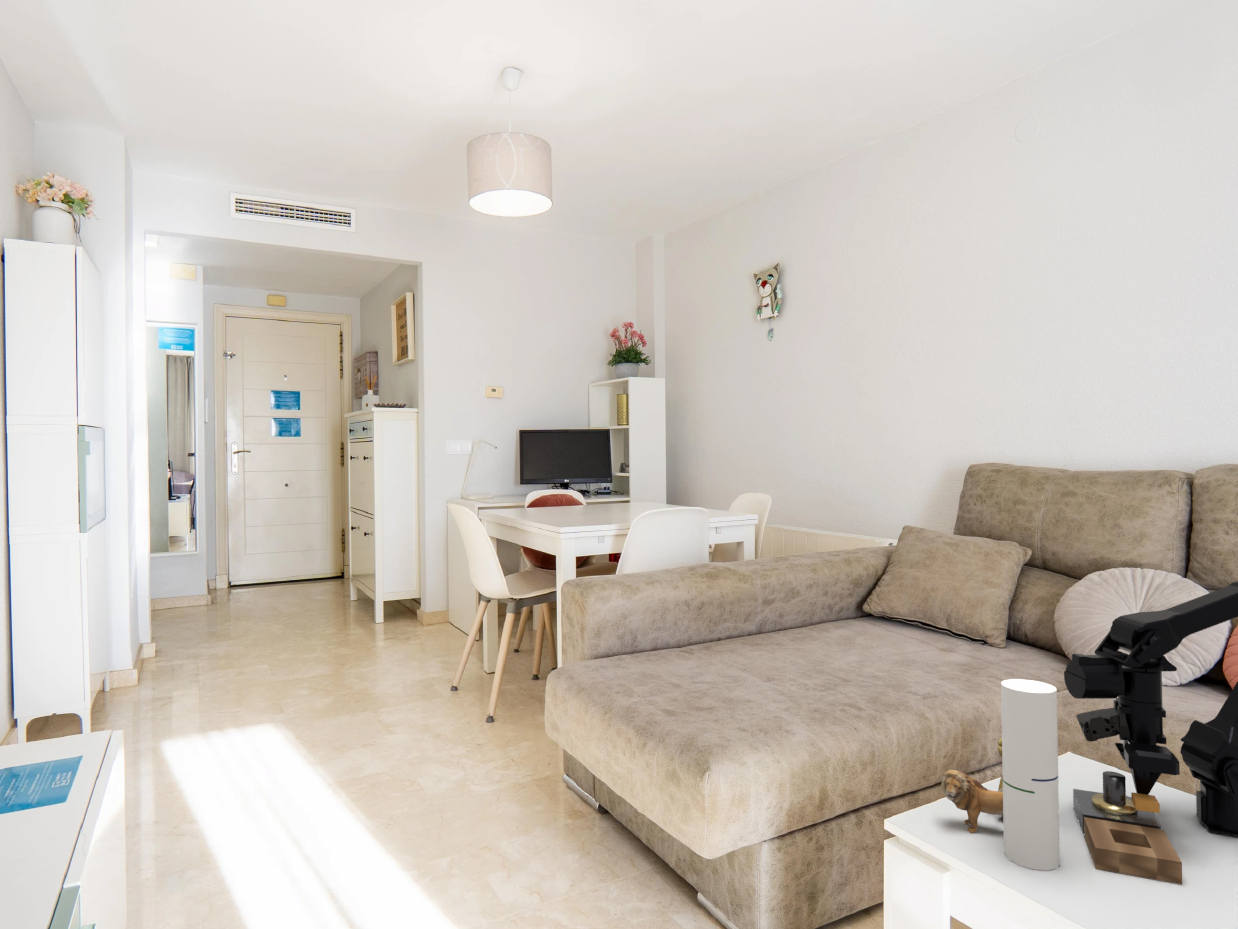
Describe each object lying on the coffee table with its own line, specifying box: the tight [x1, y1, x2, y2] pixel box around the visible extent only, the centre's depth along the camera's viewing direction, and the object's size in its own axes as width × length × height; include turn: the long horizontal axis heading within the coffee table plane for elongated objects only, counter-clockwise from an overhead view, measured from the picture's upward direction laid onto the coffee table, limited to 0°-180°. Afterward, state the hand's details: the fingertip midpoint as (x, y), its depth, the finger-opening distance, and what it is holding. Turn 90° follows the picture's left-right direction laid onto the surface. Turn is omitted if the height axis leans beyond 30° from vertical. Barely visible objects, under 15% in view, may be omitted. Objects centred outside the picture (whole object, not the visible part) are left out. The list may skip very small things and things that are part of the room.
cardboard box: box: [1130, 792, 1161, 814], centre depth 113 cm, size 3×3×2 cm
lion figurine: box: [940, 769, 1003, 834], centre depth 115 cm, size 15×5×9 cm, turn 69°
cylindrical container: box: [1000, 678, 1061, 871], centre depth 107 cm, size 7×7×25 cm
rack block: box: [1083, 817, 1183, 885], centre depth 106 cm, size 10×10×3 cm
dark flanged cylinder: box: [1092, 770, 1138, 815], centre depth 116 cm, size 6×6×8 cm
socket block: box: [1072, 788, 1162, 835], centre depth 116 cm, size 10×10×3 cm
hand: (1141, 797), depth 116 cm, fingers closed
